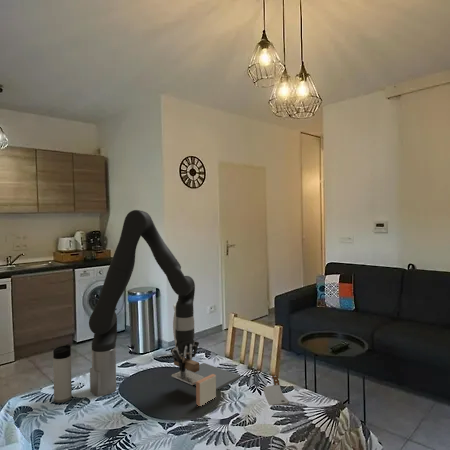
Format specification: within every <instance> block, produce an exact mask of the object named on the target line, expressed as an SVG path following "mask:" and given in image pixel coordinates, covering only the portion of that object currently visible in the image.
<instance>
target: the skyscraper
mask: <svg viewBox="0 0 450 450" xmlns="http://www.w3.org/2000/svg"><path fill="white" fill-rule="evenodd" d="M176 303H177V302H175V303H174V304H173V305H172V307H173V311H174V314H173V321H172V328H173V329H172V330H173V339H174V345H175V346H174V348H175V347H176V343H177V341H176V338H175V320H176Z"/></svg>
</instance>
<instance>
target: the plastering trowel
mask: <svg viewBox="0 0 450 450" xmlns="http://www.w3.org/2000/svg"><path fill="white" fill-rule="evenodd" d="M181 359H182V357H181ZM184 363H185V372H181V371H180V370H179V371H177V372H175V373H172V374H171V377H172V378H174V379H177V380H178V381H181V382H184V383H186V384H188V385H191V386H193V385H194V384H196V382H197V381H199V380H201V379H203V378H205V377H203V376H200V375H198V374H195V372H197V371H199V365H200V362H198V361H195V360H193V359H192V360H190V359H187V358H186V357H185V362H184ZM173 365H174V366H177V367H179V363H178V362H175V360H174V359H173ZM188 370H189V371H188ZM190 371H192V372H190ZM193 372H194V373H193Z"/></svg>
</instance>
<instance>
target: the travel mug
mask: <svg viewBox="0 0 450 450" xmlns="http://www.w3.org/2000/svg"><path fill="white" fill-rule="evenodd" d="M52 352H53V355H52V356H53V357H52V361H53V362H52V363H53V365H52V366H53V367H52V368H53V369H52V370H53V401H54V402H55V403H58V404H59V403H66V402H68V401H70V400H71V399H72V396H73V395H72V394H73V393H72V392H73V391H72V348H71V344H65V345H61V346H58V347H56V348H54V349H53V351H52Z"/></svg>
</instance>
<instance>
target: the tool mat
mask: <svg viewBox="0 0 450 450" xmlns="http://www.w3.org/2000/svg"><path fill="white" fill-rule="evenodd" d="M188 371H189V370H188ZM190 372H192V371H190ZM193 373H194V372H193ZM195 374H198V375H200V376H203V377H207V376H209V375H211V374H215V375H216V389H219V390H220V389H223V388H224V387H226V386H228V385H230V384H231V383H234V382H235V381H237V380H239V379H241V375H239V374H237V373H233V372H231V371H228V370H225V369H222V368H220V367H216V366H214V365H211V364H208V363H206V362H202V363H199V371H197V372H195Z"/></svg>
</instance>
